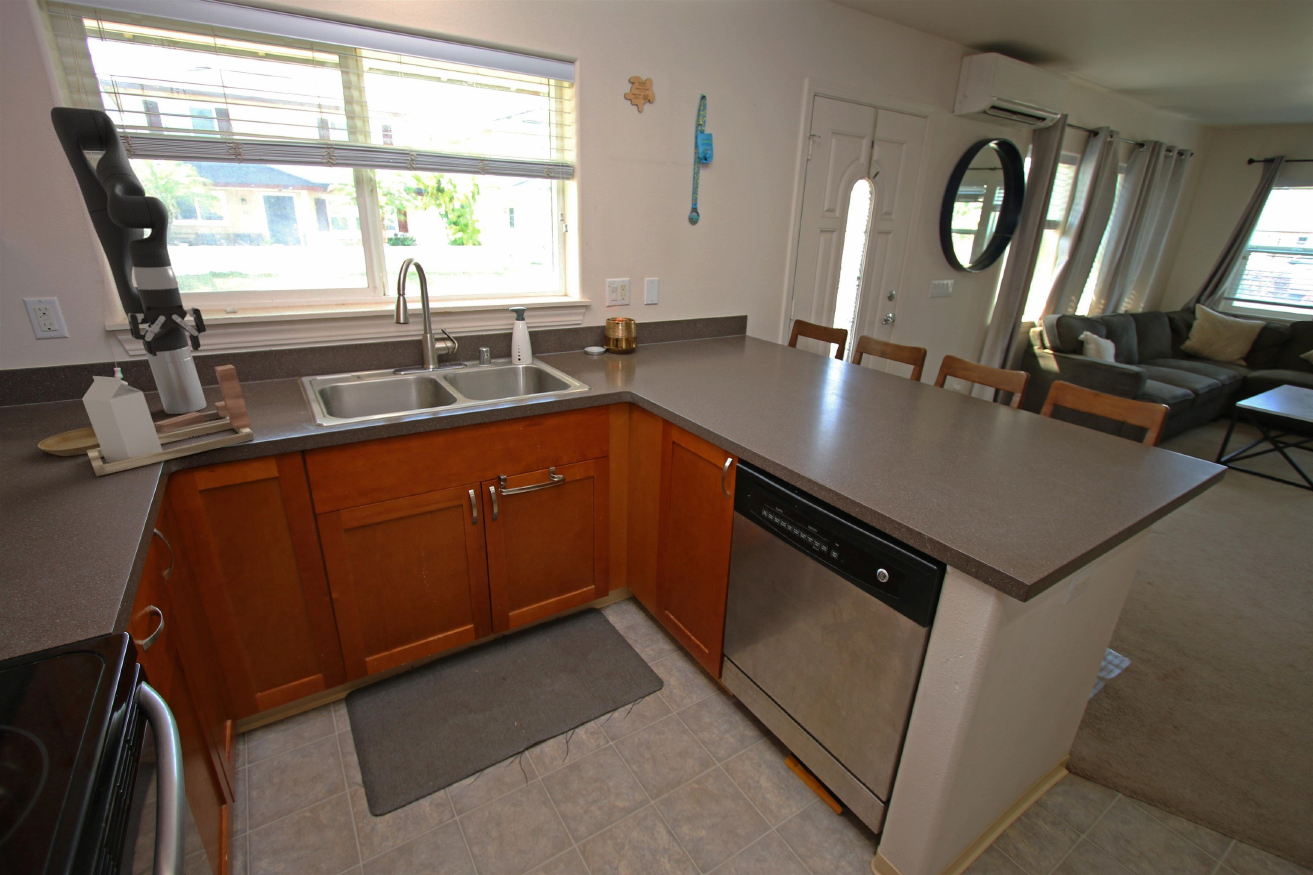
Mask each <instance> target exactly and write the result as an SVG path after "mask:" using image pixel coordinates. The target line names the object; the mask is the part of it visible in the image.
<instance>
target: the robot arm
mask: <svg viewBox="0 0 1313 875" xmlns="http://www.w3.org/2000/svg"><path fill="white" fill-rule="evenodd" d="M50 120H51V123H52V125H53V128H54V131H55V133H56V136H57V138H58V141H59V143H60V144H61V147H62V150H63V151H64V154H65V156H66V158H67V160H68V162H69V165H70V167H71V169H72V172H73V173H74V176H75V178H76V182H77V183H78V186H79V189H80V192H81V195H82V197H83V200H84V203H85V206H86V209H87V213H88V214H89V218H90V221H91V222H92V225H93V228H94V230H95V233H96V236H97V238H98V240H99V242H100V244H101V247H102V249H103V252H104V254H105V256H106V259H107V262H108V265H109V267H110V272H111V273H112V274H111V275H112V277H113V281H114V284H115V287H116V290H117V294H118V297H119V300H120V303H121V306H122V309H123V311H124V314H125V315H126V317H127V320H128V324H129V326H128V327H129V331H130V335H131V338H134V339H135V340H137V341H138V340H139V341H142V345H143V349H144V350H145V351H144V352H145V355H146V358H147V361H148V363H149V365H150V366H149V367H150V369H151V373H152V376H153V378H154V381H155V385H156V387H157V391H158V394H159V397H160V400H161V403H162V406H163V409H164V412H165V413H166V414H168V415H182V414H189V413H192V412H198V411H199V410H203V409H205V408H206V407H207V401H206V399H205V394H204V391H203V388H202V385H201V382H200V378H199V375H198V372H197V368H196V365H195V361H194V358H193V355H192V353H191V352H192V351H191V348H192V350H193V351H196V352H197V351H199V350H200V349H201V342H200V341H201V340H200V337H199V336H200V334H203V333H206V332H207V329H206V326H205V322H204V319H203V315H202V312H201V310H200V309H199V308H196V307H191V308H187V309H185V307H184V305H183V300H182V298H181V297H182V296H181V292H180V289H179V283H178V280H177V277H176V274H175V272H174V270H173V267H172V263H171V262H172V261H171V258H170V254H169V251H168V250H169V249H168V226H169V211H168V208H167V206H166V205H165V203H164V202H163V201H162V200H161V199H160V198H158V197H155V196H146V191H145V190H146V189H145V187H144V186H143V184H142V182H140V179H139V178H138V176H137V175H136V172H135V171H134V169H133V167H132V165H131V162H130V159H129V158H128V155H127V151H126V148H125V146H124V144H123V141H122V139H121V137H120V136H121V135H120V134H119V131H118V128H117V126H116V125H115V122H114V121H113V120H112V118H111V117H110V116H109V115H108V114H107V113H106V112H105V111H102V110H97V109H92V108H91V109H90V108H88V109H86V108H77V107H68V106H67V107H64V106H55V107H52V108H51V110H50ZM84 151H85V152H102V153H103V152H104V154H102V156H101V157H100V158H99V160H98V161H97V163H96V167H95V166H94V165H93V164H92V163H91V161H90V159H88V157H87V156H86V154H85V152H84ZM147 229H149V230H150V234H149V235H148V236H147V237H145V230H147ZM133 273H134V279H135V283H136V286H134V283H133V277H132V276H133ZM188 315H189V316H190V317H191V318H192V319H193V320H194V325H195V328H194V327H192V326H191V325H190V324H188V323H187V322H186V321H185V319H186V318H187V316H188ZM140 325H146V327H145V330H144V332H143V333H141V328H140ZM186 332H187V333H189V335H188V337H189V341H190V344H191V348H190V345H189V342H188V338H187V334H186Z"/></svg>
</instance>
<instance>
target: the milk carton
mask: <svg viewBox="0 0 1313 875" xmlns="http://www.w3.org/2000/svg"><path fill="white" fill-rule="evenodd" d="M92 379H93V382H92V383H91V385H90V387H89V388H88V390H86V393H85V394H84V396H83V397H82V401H83V402H82V403H83V405H84V407H85V410H86V413H87V415H88V417H89V421H90V423H91V427H93V429H94V431H95V434H96V436H97V439H98V442H99V444H100V447H101V450H102V452H103V455H104V456H103V457H104V460H105V462H106V464H108V463H112V462H116V461H121V460H125V459H130V458H134V457H138V456H143V455H147V454H152V453H156V452H160V451H163V448H162V444H160V442H159V439H158V436H157V433H158V432H157V431H156V430H155V427H154V424H153V423H154V421H153V419H152V415H151V412H150V409H149V406H148V403H147V401H146V398H145V395H144V393H143V391H142V390H141V389H138V388H135V387H133V386H130V385H128V384H129V383H128V382H127V381H124V380H122V378H120V377H109V376H99V375H97V376H96V375H92Z"/></svg>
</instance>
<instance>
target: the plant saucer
mask: <svg viewBox="0 0 1313 875" xmlns="http://www.w3.org/2000/svg"><path fill="white" fill-rule="evenodd" d="M37 447H38V448H39V449H41V450H42V451H44V452H46V453H48V454H52V455H54V456H58V457H69V456H70V457H71V456H79V455H80V456H81V455H85V454H88V453H87V450H91V449H96V448H101V447H100V444H99V442H98V439H97V436H96V434H95V431H94V429H93V426H91V427H84V428H79V429H72V430H68V431H65V432H61V433H58V434H55V435H52V436H49V437H47V438H45V439H43V440H41V441H39V443H38V444H37Z"/></svg>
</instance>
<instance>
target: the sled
mask: <svg viewBox="0 0 1313 875" xmlns="http://www.w3.org/2000/svg"><path fill="white" fill-rule="evenodd" d="M214 371H215V374H216V379H217V380H218V384H219V389H220V392H221V395H222V398H223V401H224V403H225V406H226V410H227V413H228V417H229V420H228V421H223V422H219V423H214V424H209V425H205V426H200V427H195V428H190V429H186V430H181V431H176V432H171V433H167V434H162V435H157V436H158V439H159V442H160V445H162V444H166V443H172V442H175V441H176V442H177V441H179V440H184V439H185V440H186V439H189V437H190V438H193V437H192V436H194V437H197V436H198V435H199V436H202V434H203V435H207V434H206V433H208V434H211V433H216V432H220V431H225V430H229V429H234V430H235V431H236V432H237V433H236V434H231V435H227V436H223V437H218V438H214V439H210V440H205V441H202V442H201V441H200V442H196V443H192V444H188V445H183V446H179V447H174V448H171V449H165V450H162V451H160V452H156V453H152V454H147V455H143V456H138V457H134V458H130V459H125V460H121V461H116V462H112V463H103V461H102V459H101V458H103V457H104V455H103V452H102V450H101V448H96V449H91V450H87V453H86V454H87V455H88V458H89V460H90V464H91V465H92V468H93V470H94V473H95V476H96V477H99V476H103V475H107V474H112V473H117V472H121V471H125V470H130V469H133V468H137V467H142V466H146V465H150V464H154V463H158V462H164V461H167V460H171V459H175V458H180V457H184V456H189V455H193V454H197V453H200V452H205V451H209V450H210V451H211V450H214V448H215V449H219V448H221V447H223V448H224V447H228V446H231V445H235V444H239V443H243V442H248V441H252V440H255V435H254V433H253V431H252V430H251V429H250V428H249V427H251V426H252V425H251V422H250V417H249V414H248V410H247V407H246V404H245V400H244V395H243V392H242V388H241V384H240V381H239V377H238V374H237V369H236V367H235V366H234V365H232V364H227V365H220V366H214Z"/></svg>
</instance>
